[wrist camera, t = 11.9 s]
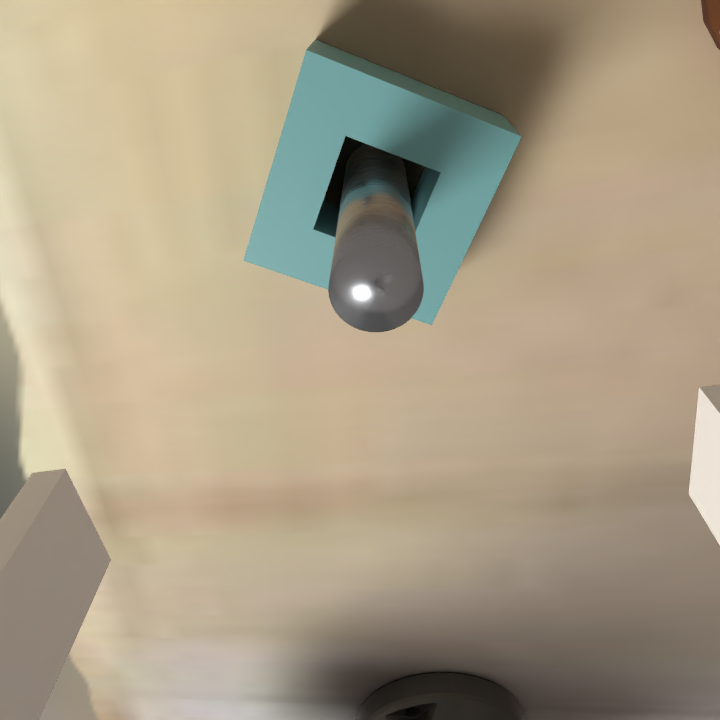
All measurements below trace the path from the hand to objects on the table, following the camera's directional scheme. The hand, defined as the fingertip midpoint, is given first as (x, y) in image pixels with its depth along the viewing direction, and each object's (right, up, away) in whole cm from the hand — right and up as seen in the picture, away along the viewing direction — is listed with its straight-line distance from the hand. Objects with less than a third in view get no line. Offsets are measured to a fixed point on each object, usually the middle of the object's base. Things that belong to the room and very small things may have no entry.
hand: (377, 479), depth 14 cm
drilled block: (0, +12, +21) cm, 25 cm away
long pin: (0, +12, +21) cm, 25 cm away
